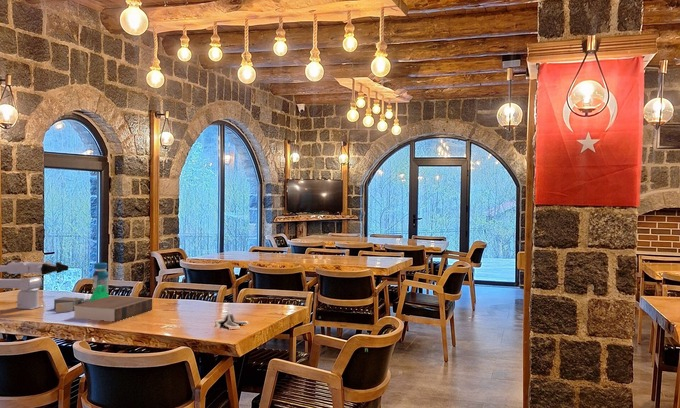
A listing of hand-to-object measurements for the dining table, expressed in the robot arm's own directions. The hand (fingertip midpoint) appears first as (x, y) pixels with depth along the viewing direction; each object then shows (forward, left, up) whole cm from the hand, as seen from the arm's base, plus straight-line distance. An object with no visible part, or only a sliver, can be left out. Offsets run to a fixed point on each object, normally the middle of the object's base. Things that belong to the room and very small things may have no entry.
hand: (62, 268), depth 282 cm
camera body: (+1, +4, -21) cm, 22 cm away
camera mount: (+11, +18, -22) cm, 30 cm away
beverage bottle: (-2, +33, -21) cm, 39 cm away
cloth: (+95, -8, -22) cm, 97 cm away
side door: (+4, -3, -21) cm, 22 cm away
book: (+31, -1, -22) cm, 38 cm away
